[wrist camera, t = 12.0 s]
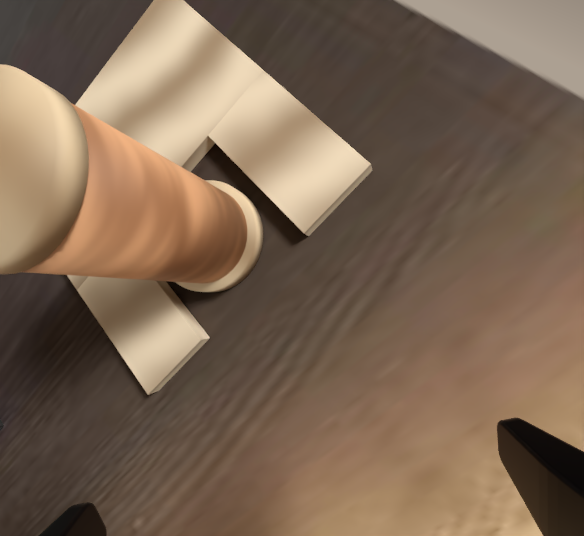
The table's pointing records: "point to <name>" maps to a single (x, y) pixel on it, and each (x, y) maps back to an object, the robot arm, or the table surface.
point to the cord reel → (110, 201)
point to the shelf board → (192, 148)
